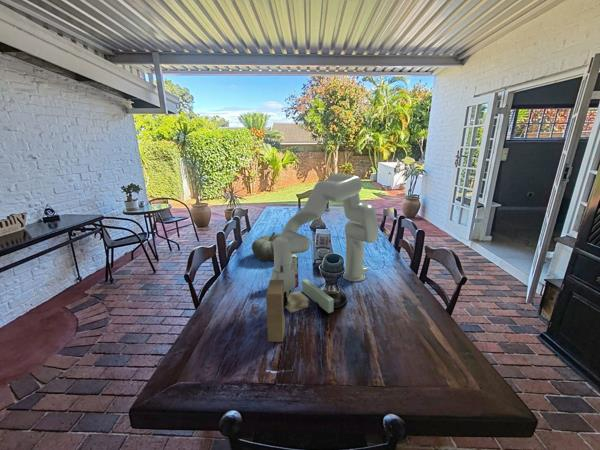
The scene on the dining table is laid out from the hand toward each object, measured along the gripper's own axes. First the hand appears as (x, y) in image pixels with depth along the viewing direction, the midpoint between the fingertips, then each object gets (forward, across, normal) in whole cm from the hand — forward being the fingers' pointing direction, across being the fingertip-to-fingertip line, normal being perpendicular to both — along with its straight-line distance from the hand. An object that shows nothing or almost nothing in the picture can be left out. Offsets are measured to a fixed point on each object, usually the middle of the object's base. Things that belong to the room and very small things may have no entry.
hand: (283, 304), depth 121 cm
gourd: (+3, -21, -56) cm, 60 cm away
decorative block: (+3, +9, +12) cm, 15 cm away
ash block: (+3, -6, -1) cm, 7 cm away
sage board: (+3, -17, +1) cm, 17 cm away
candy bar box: (+3, -12, -19) cm, 23 cm away
